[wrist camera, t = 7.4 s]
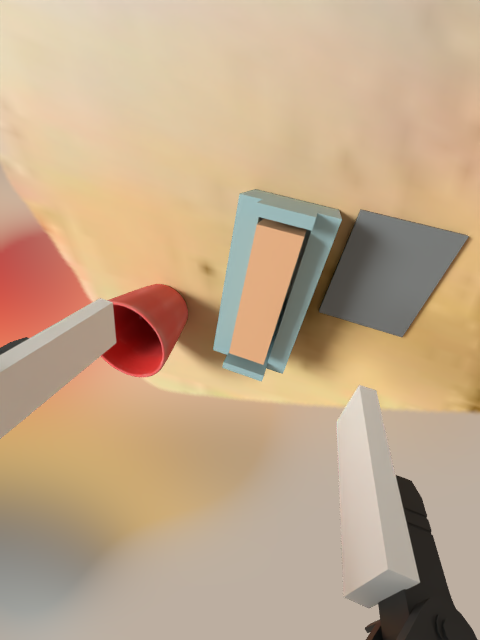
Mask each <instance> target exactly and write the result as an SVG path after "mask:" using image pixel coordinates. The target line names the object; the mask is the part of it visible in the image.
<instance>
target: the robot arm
mask: <svg viewBox="0 0 480 640" xmlns="http://www.w3.org/2000/svg"><path fill="white" fill-rule="evenodd" d="M114 344H116V333H115V322H114V310H113V302H110V301H107V300H104V299H101V298H100V299H98V300H96V301H94V302H93V303H91V304H89V305H87V306H86V307H84V308H82V309H80V310H79V311H77V312H75V313H73V314H72V315H70V316H68V317H66V318H64V319H63V320H61V321H59V322H58V323H56V324H54V325H52V326H50V327H49V328H47V329H45V330H43V331H42V332H40V333H38V334H36V335H35V336H33V337H31V338H27V337H26V338H22V339H19V340H16V341H13V342H10V343H8V344H7V345H5V346H3V347H1V348H0V439H1V438H2V437H3V436H4V435H6V434H7V433H8V432H9V431H10V430H12V429H13V428H14V427H15V426H16V425H18V424H19V423H20V422H21V421H23V420H24V419H25V418H26V417H27V416H29V415H30V414H31V413H32V412H33V411H35V410H36V409H37V408H38V407H39V406H41V405H42V404H43V403H44V402H45V401H47V400H48V399H49V398H50V397H52V396H53V395H54V394H55V393H56V392H58V391H59V390H60V389H61V388H62V387H64V386H65V385H66V384H67V383H68V382H70V381H71V380H72V379H73V378H74V377H76V376H77V375H78V374H79V373H81V372H82V371H83V370H84V369H85V368H87V367H88V366H89V365H90V364H91V363H93V362H94V361H95V360H96V359H97V358H99V357H100V356H101V355H102V354H104V353H105V352H106V351H107V350H108V349H110V348H111V347H112V346H113V345H114ZM336 427H337V451H338V474H339V499H340V522H341V544H342V545H341V546H342V570H343V595H344V597H345V598H347V599H349V600H351V601H354V602H356V603H358V604H360V605H362V606H365V607H367V608H371V607H373V606H375V605H377V604H378V605H379V613H380V620H378V621H375V622H373V623H371V624H369V625H368V626H367V627H365V630H366V631H367V633H369V632H370V634H369V636H368V637H367V639H366V640H477V638H476V636H475V634H474V632H473V630H472V628H471V627H470V625H469V624H468V623H467V621H466V620H465V618H464V617H463V616H462V614H461V613H460V612H458V611H457V610H456V608H455V606H454V604H453V601H452V599H451V596H450V593H449V590H448V586H447V583H446V579H445V576H444V572H443V569H442V566H441V562H440V559H439V555H438V552H437V548H436V545H435V542H434V538H433V535H431V528H430V525H429V521H428V520H427V518H426V517H427V514H426V511H425V508H424V504H423V501H422V498H421V496H420V494H419V493H418V491H417V490H416V488H415V486H414V484H413V483H412V481H410V480H408V479H405V478H402V477H400V476H397V475H395V471H394V466H393V462H392V457H391V453H390V449H389V445H388V440H387V436H386V431H385V427H384V423H383V418H382V414H381V409H380V405H379V400H378V396H377V392H376V390H373V389H370V388H367V387H364V386H361V385H359V386H358V388H357V389H356V391H355V393H354V394H353V396H352V397H351V399H350V401H349V402H348V404H347V405H346V407H345V408H344V410H343V412H342V413H341V415H340V417H339V418H338V420H337V421H336Z"/></svg>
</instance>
